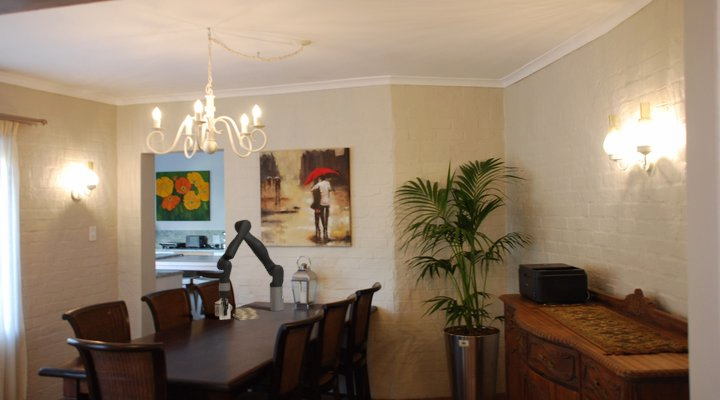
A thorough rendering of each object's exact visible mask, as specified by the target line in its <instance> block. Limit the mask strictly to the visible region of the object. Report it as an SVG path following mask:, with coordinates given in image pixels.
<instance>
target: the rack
mask: <svg viewBox="0 0 720 400" xmlns="http://www.w3.org/2000/svg"><path fill="white" fill-rule="evenodd" d="M232 317H234V318H235V320H237V321H245V320H246V321H247V320H256V319H257V320H258V319H260V315H258V314H257V310H255V309H253V308H251V307H244V308H236V309H235V313H232Z"/></svg>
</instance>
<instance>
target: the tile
mask: <svg viewBox="0 0 720 400" xmlns="http://www.w3.org/2000/svg"><path fill="white" fill-rule="evenodd" d="M230 305H231V303H229V305H228V310H227V316H224V308H223V304H219V316H218V317H219V320H220V321H221V320H231V311H230V310H231V306H230ZM225 308H226V307H225Z"/></svg>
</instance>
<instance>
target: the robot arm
mask: <svg viewBox="0 0 720 400" xmlns="http://www.w3.org/2000/svg"><path fill="white" fill-rule="evenodd" d="M233 226H234V231H235V232H236V233H237V234H236V235H235V237H233V239H232V240H231V242H230V243H229V244H228V246H227V247H226V249H225V252H224V253H223V254H222V255H221V256H220V258H219V259H218V260H217V262H216V268H217V270H219V271H223V272H222V273H221V274H219V277H218V282H219V283H218V297H219V298H220V299H221V304H223V308H224V316H227V310H228V305H229V302H230V301H229V299H228V298H229V297H230V296H231V284H230V283H231V275H232V274H231V273H232V270H233V269H232V267H233V264H232V262H231V260H233V259H234V258H235V257H236V254H237V252H238V250H239V249H240V248H239V247H240V246H241V245H242V243H243V241H244V242H245V244H247V246H248V248H250V250H251V251H252V253H253V254H254V255H255V256H256V258H257V259H258V260H259V262H260V263H261V264H262V266H263V267H264V269H265V271H266V272H267V274H268V276H270V277H271V279H272V280H271V281H270V283H269V308H270V309H269V311H272V312H280V311H284V308H285V307H284V306H285V305H284V304H285V303H284V300H285V298H284V296H283V295H284V294H283V285H284V279H285V278H284V277H285V271H284V267H283V266H282V265H280V264H276V263H275V262H274V261H273V260H272V258H271V257H270V254H269V250H268V249H267V247H266V246H265V244H264V243H263V241H261V240H260V239H259V238H257V237H256V236H255V235H253V234H252V233H251V232H250V231H251V229H252V223H251V222H250V220H248V219H241V220H238V221H237V220H236V222H235V223H234V225H233ZM225 307H226V308H225Z"/></svg>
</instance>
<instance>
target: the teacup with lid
mask: <svg viewBox="0 0 720 400" xmlns="http://www.w3.org/2000/svg"><path fill="white" fill-rule="evenodd" d="M221 299H222V298H219V300H217V301H216V302H214V315H215V317H219V304H221ZM232 310H233V306H232V305H231V304H230V312H231V311H232Z"/></svg>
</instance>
